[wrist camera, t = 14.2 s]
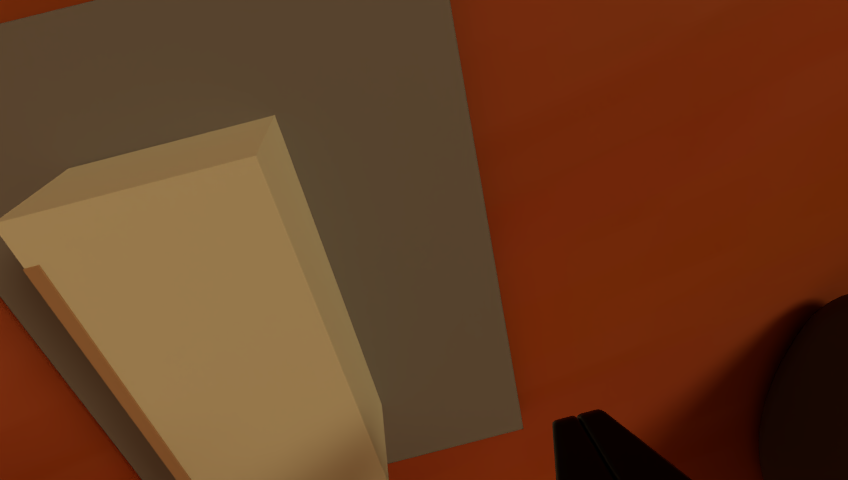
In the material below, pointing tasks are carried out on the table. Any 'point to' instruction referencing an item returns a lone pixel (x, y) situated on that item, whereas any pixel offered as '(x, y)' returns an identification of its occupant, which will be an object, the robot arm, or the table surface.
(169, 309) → the block
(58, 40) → the mat
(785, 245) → the table surface
